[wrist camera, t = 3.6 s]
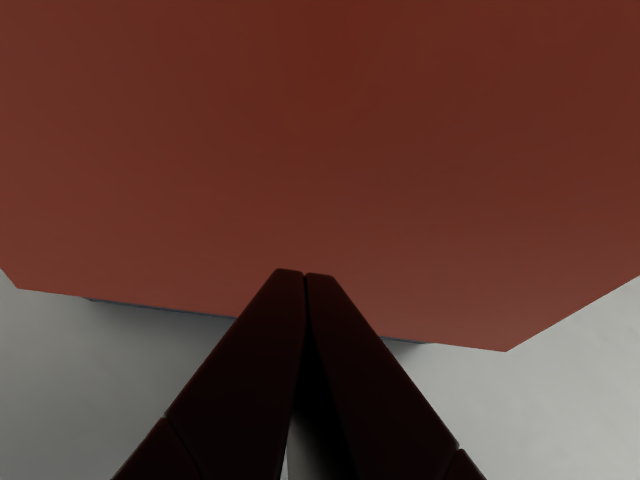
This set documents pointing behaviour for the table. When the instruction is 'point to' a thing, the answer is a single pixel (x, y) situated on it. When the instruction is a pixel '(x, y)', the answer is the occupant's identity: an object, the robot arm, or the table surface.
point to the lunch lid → (326, 155)
